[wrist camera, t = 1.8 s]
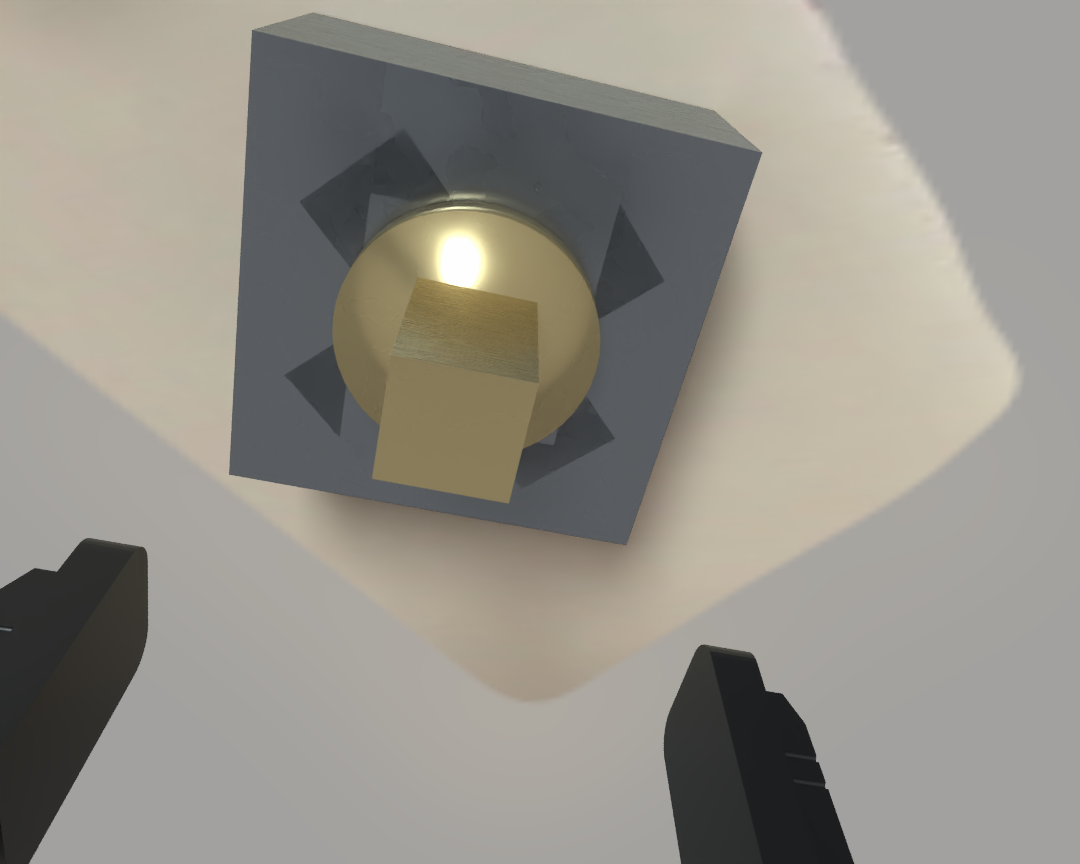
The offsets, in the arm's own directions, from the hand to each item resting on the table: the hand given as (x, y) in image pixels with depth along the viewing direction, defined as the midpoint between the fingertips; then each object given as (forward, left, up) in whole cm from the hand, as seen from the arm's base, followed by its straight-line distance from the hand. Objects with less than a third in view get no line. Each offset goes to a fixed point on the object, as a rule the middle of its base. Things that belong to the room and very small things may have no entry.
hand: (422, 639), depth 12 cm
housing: (0, 0, -18) cm, 18 cm away
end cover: (0, 0, -15) cm, 15 cm away
